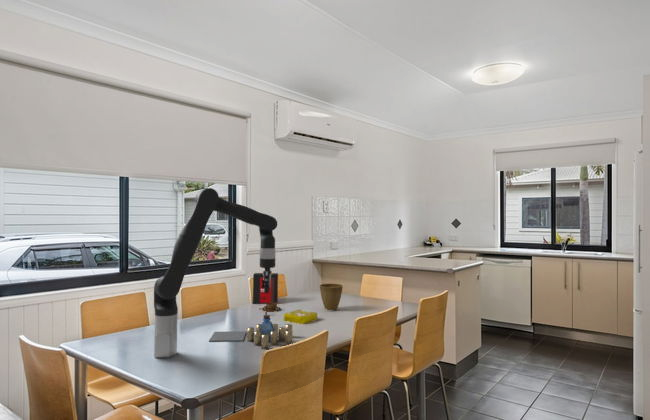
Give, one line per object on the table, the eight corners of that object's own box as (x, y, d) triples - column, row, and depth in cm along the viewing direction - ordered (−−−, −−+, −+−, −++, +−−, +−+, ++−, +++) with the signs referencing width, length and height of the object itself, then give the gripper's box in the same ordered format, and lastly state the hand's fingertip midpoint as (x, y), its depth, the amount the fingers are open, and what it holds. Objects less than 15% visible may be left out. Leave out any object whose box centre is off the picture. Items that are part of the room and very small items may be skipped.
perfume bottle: (273, 338, 210) (273, 314, 210) (272, 342, 203) (272, 317, 204) (260, 338, 209) (261, 314, 210) (259, 342, 203) (259, 317, 203)
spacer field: (292, 349, 193) (292, 335, 194) (244, 349, 192) (244, 336, 192) (291, 332, 222) (292, 320, 222) (249, 332, 220) (250, 321, 220)
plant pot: (319, 307, 285) (320, 283, 285) (342, 307, 285) (342, 283, 285) (318, 312, 270) (319, 286, 271) (342, 312, 270) (342, 287, 270)
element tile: (318, 320, 251) (318, 312, 251) (302, 325, 239) (303, 316, 239) (298, 316, 260) (298, 308, 260) (282, 321, 247) (282, 312, 247)
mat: (243, 341, 204) (243, 340, 205) (208, 341, 203) (208, 340, 203) (246, 332, 220) (246, 331, 220) (214, 332, 219) (214, 331, 219)
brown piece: (288, 311, 274) (288, 302, 275) (266, 317, 258) (267, 307, 258) (267, 307, 284) (268, 298, 285) (246, 313, 268) (246, 303, 268)
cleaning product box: (252, 304, 293) (253, 274, 293) (254, 301, 302) (254, 273, 302) (277, 304, 294) (277, 274, 295) (277, 301, 303) (278, 273, 303)
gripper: (275, 258, 200) (274, 293, 200) (275, 256, 215) (275, 288, 214) (258, 258, 200) (258, 293, 200) (260, 256, 214) (260, 288, 214)
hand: (267, 291), depth 207 cm, fingers open, 8 cm apart
